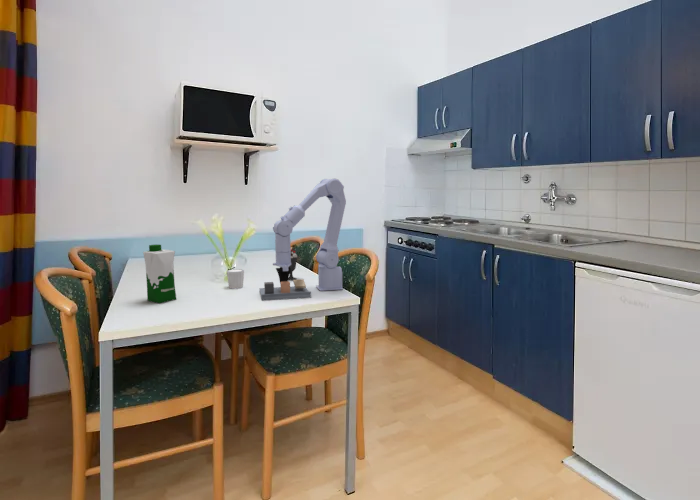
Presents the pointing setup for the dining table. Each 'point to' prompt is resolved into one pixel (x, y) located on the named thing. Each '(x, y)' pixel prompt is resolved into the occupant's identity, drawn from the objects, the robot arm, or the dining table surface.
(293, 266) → the sundae
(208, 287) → the dining table surface
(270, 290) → the black knob
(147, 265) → the milk carton
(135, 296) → the dining table surface
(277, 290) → the panel
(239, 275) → the grey tapered cup
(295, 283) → the block
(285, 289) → the terracotta knob
